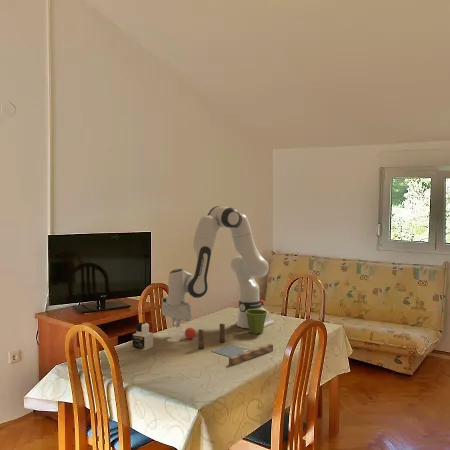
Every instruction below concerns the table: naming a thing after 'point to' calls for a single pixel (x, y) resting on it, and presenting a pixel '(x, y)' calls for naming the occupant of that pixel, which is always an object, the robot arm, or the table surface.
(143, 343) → the medicine bottle
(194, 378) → the table surface
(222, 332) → the post
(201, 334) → the post
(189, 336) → the ball
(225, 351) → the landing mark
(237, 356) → the stopper wall
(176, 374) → the table surface
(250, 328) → the plant pot
